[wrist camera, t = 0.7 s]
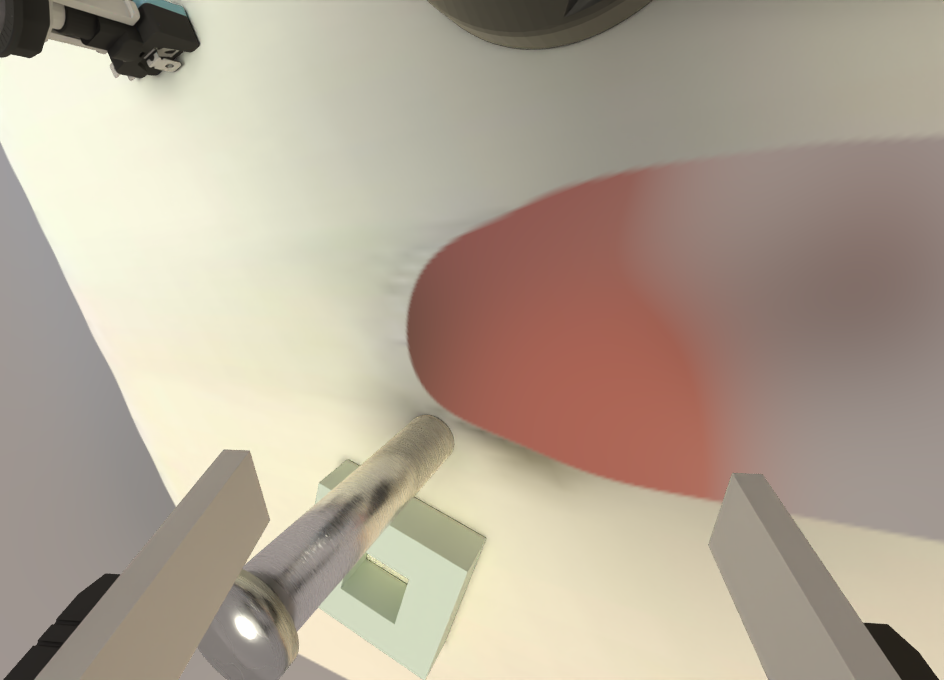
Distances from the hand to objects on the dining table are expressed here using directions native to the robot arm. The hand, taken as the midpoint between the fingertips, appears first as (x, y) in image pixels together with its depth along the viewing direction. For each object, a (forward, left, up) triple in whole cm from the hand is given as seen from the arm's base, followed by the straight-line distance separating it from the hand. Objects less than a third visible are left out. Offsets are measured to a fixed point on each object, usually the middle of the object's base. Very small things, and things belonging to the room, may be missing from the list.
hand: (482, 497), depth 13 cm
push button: (-8, -30, -13) cm, 34 cm away
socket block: (+19, -6, -13) cm, 24 cm away
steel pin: (+9, -6, -13) cm, 17 cm away
